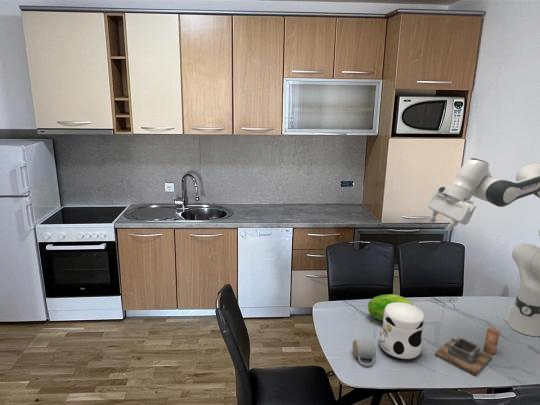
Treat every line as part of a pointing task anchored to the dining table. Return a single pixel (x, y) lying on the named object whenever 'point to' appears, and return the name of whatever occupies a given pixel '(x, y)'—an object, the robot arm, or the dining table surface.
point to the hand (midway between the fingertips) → (439, 226)
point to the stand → (464, 355)
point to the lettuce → (383, 304)
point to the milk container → (402, 330)
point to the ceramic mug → (364, 350)
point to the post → (491, 341)
